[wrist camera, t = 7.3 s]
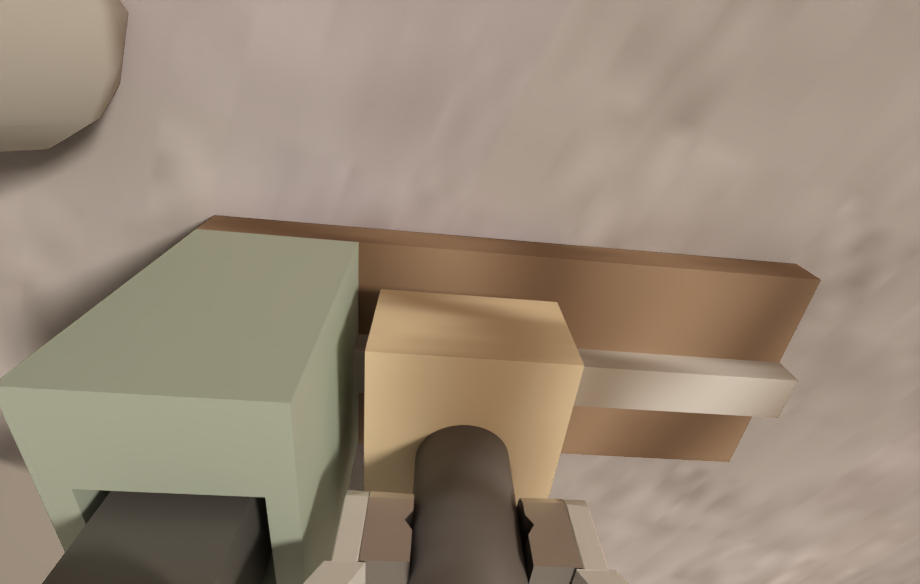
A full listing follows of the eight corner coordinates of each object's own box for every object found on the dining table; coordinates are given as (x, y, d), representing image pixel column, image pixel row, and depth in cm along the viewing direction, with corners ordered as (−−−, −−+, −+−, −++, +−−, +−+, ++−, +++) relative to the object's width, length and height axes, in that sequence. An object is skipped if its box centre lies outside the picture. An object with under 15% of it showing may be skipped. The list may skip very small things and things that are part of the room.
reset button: (160, 516, 12) (8, 771, 8) (127, 400, 10) (-92, 649, 6) (312, 522, 12) (244, 772, 8) (305, 409, 11) (213, 655, 6)
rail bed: (242, 413, 18) (219, 457, 16) (214, 215, 15) (178, 242, 13) (714, 439, 20) (743, 482, 18) (796, 264, 16) (844, 295, 14)
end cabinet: (230, 436, 17) (112, 655, 11) (196, 228, 14) (-10, 385, 7) (358, 442, 18) (311, 659, 12) (358, 242, 14) (289, 402, 8)
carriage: (376, 455, 16) (334, 711, 10) (380, 288, 13) (324, 507, 7) (521, 462, 17) (566, 714, 10) (557, 302, 14) (650, 520, 7)
